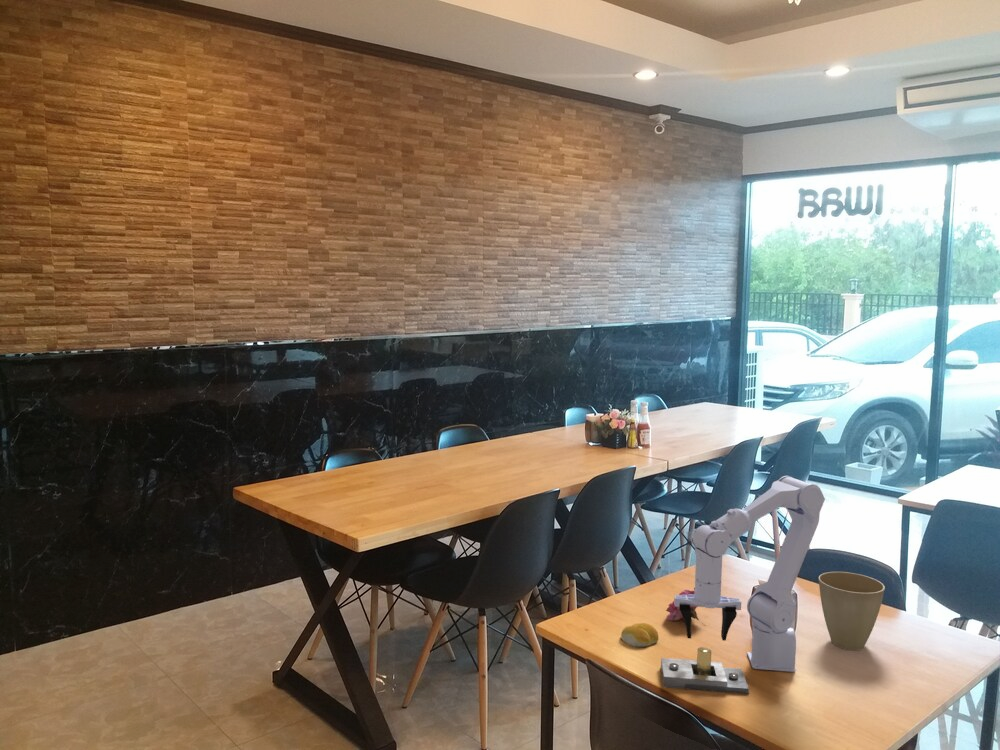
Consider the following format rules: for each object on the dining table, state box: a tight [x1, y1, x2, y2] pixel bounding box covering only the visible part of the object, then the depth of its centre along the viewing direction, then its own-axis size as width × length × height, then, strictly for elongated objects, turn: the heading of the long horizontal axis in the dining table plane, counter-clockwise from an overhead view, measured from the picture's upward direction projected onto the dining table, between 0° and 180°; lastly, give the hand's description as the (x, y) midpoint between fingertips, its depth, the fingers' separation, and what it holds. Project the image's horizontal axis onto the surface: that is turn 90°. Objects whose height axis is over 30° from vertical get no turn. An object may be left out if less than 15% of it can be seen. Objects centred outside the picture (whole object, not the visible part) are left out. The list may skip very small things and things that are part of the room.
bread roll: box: [620, 622, 659, 648], centre depth 192 cm, size 8×9×4 cm
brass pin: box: [696, 646, 712, 676], centre depth 171 cm, size 3×3×7 cm
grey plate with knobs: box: [660, 657, 750, 695], centre depth 171 cm, size 18×9×3 cm, turn 82°
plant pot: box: [818, 571, 886, 651], centre depth 190 cm, size 15×15×16 cm
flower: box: [665, 586, 707, 626], centre depth 203 cm, size 11×10×10 cm
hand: (706, 637), depth 174 cm, fingers open, 7 cm apart
